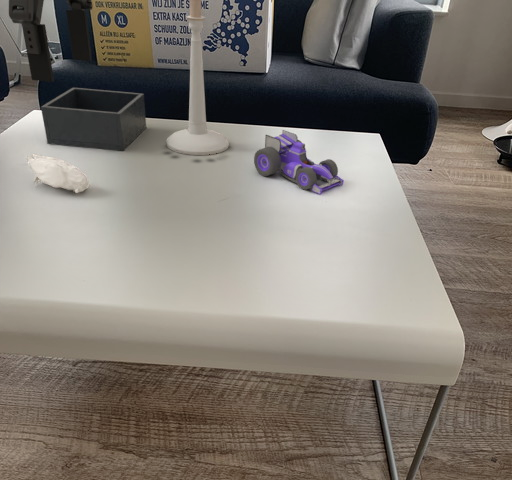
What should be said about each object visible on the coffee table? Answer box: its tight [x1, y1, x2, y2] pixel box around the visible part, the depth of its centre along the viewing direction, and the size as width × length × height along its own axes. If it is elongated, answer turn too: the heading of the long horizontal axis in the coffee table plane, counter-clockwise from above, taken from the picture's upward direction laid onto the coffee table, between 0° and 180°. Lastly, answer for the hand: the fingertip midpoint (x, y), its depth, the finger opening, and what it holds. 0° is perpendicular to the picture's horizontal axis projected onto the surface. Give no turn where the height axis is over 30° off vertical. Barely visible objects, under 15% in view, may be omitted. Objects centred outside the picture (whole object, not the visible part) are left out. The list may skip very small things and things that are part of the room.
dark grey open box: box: [40, 87, 147, 152], centre depth 112 cm, size 16×16×7 cm
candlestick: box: [165, 0, 230, 156], centre depth 103 cm, size 13×13×30 cm
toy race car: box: [253, 129, 345, 195], centre depth 99 cm, size 10×15×6 cm, turn 46°
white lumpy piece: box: [25, 153, 91, 194], centre depth 90 cm, size 5×7×10 cm
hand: (64, 69), depth 77 cm, fingers open, 13 cm apart
